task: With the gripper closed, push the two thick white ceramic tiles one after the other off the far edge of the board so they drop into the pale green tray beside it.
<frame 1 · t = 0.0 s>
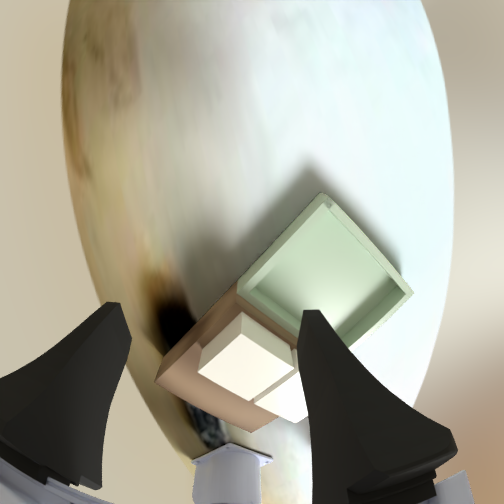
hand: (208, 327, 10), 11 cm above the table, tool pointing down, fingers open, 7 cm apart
tray: (328, 281, 21), on the table
tile a: (293, 377, 20), point 3 cm above the table, touching board
tile b: (245, 348, 19), point 3 cm above the table, touching board
board: (245, 356, 24), on the table
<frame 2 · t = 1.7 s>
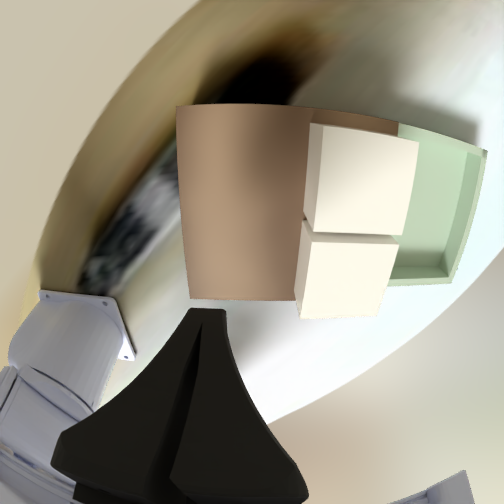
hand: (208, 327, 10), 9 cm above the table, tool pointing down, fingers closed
tray: (415, 204, 17), on the table
tile a: (336, 258, 15), point 3 cm above the table, touching board
tile b: (350, 171, 13), point 3 cm above the table, touching board
board: (281, 194, 17), on the table
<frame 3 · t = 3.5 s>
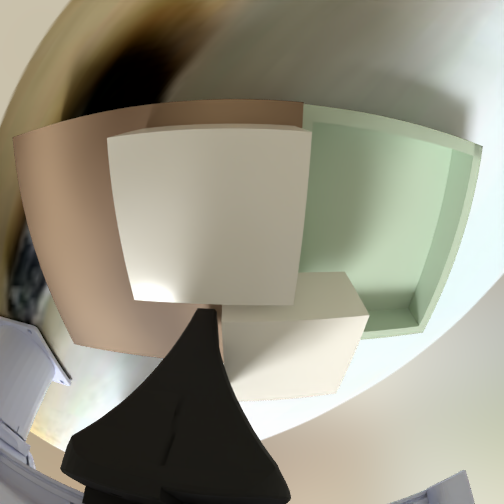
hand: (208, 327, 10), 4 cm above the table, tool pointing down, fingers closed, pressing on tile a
tray: (369, 228, 13), on the table
tile a: (281, 318, 11), point 3 cm above the table, touching board, gripper
tile b: (217, 195, 8), point 3 cm above the table, touching board
board: (164, 223, 13), on the table
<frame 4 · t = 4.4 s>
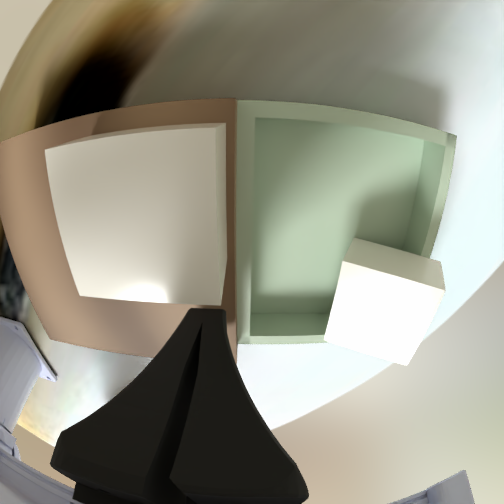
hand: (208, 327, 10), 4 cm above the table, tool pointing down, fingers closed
tray: (333, 227, 13), on the table
tile a: (380, 319, 11), point 4 cm above the table, tilted 150°, touching tray
tile b: (156, 196, 8), point 3 cm above the table, touching board
board: (127, 224, 13), on the table
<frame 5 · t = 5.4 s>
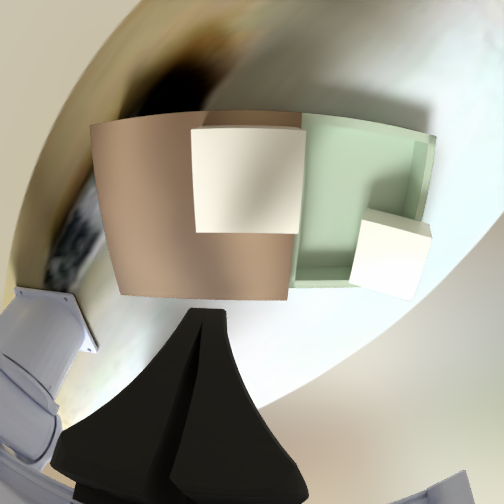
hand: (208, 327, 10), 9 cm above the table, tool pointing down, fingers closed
tray: (352, 200, 18), on the table
tile a: (389, 262, 15), point 4 cm above the table, tilted 150°, touching tray
tile b: (248, 170, 13), point 3 cm above the table, touching board
board: (201, 196, 17), on the table
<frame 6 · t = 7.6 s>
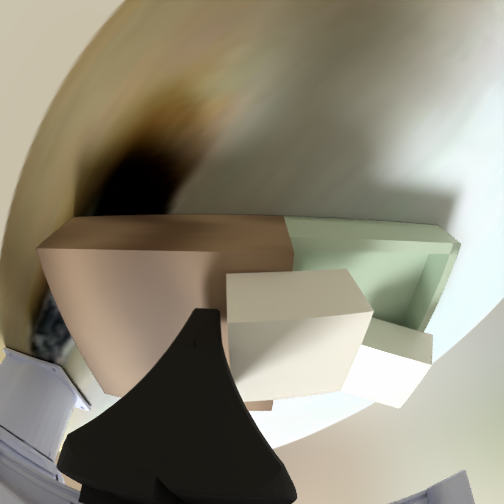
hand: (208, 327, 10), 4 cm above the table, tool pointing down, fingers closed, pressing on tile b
tray: (350, 307, 15), on the table
tile a: (381, 380, 13), point 4 cm above the table, tilted 150°, touching tray
tile b: (284, 317, 11), point 3 cm above the table, touching board, gripper
board: (177, 305, 15), on the table
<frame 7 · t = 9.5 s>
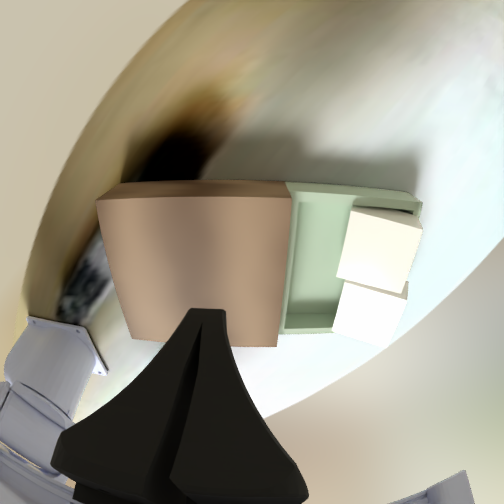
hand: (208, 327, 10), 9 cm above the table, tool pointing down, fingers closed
tray: (339, 258, 20), on the table
tile a: (367, 317, 18), point 4 cm above the table, tilted 150°, touching tray
tile b: (378, 254, 15), point 4 cm above the table, tilted 156°, touching tray
board: (201, 255, 20), on the table
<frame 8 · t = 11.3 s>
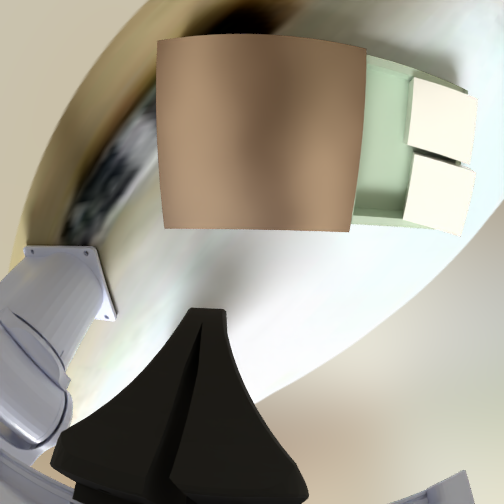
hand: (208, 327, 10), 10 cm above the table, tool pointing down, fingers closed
tray: (399, 144, 16), on the table
tile a: (440, 196, 14), point 4 cm above the table, tilted 150°, touching tray
tile b: (444, 120, 12), point 4 cm above the table, tilted 156°, touching tray
board: (259, 128, 16), on the table
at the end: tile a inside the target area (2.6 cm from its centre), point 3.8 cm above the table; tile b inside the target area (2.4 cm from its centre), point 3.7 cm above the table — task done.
